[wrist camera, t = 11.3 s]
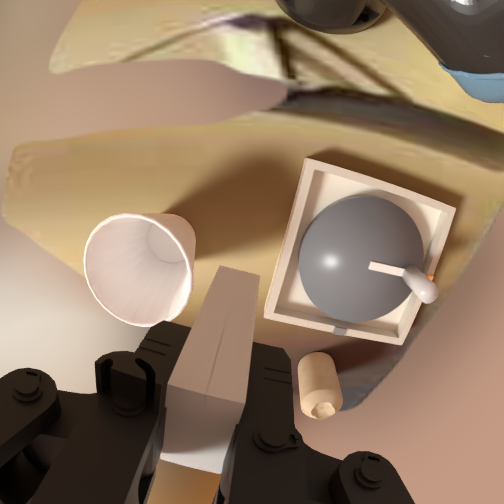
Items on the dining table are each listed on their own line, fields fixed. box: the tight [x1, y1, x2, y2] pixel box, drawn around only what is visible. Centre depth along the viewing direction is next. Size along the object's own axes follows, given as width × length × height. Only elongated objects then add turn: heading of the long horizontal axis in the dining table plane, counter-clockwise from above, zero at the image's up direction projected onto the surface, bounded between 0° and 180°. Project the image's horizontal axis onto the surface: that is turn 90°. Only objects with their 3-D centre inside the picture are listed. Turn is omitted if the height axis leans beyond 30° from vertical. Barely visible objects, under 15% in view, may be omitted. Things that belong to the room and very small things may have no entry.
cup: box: [83, 212, 196, 327], centre depth 36 cm, size 12×12×12 cm
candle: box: [298, 352, 343, 420], centre depth 41 cm, size 6×6×10 cm
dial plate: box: [264, 158, 456, 345], centre depth 39 cm, size 20×20×4 cm
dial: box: [298, 195, 439, 322], centre depth 35 cm, size 16×16×8 cm
